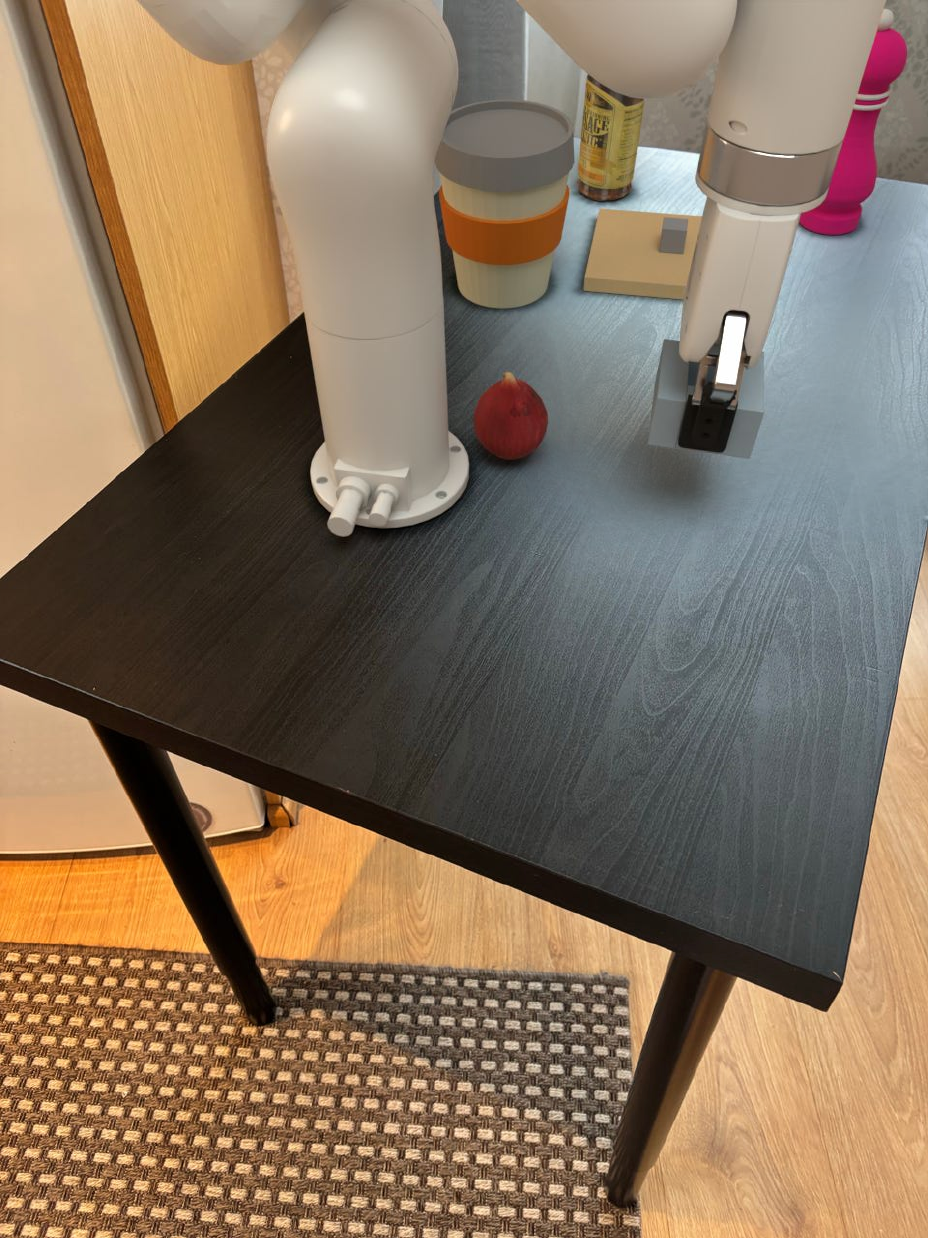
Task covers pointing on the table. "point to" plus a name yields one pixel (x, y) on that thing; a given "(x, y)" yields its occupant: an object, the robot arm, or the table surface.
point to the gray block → (680, 381)
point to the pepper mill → (860, 137)
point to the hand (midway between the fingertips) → (703, 411)
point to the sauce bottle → (608, 142)
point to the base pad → (641, 253)
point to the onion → (510, 418)
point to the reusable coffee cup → (504, 197)
